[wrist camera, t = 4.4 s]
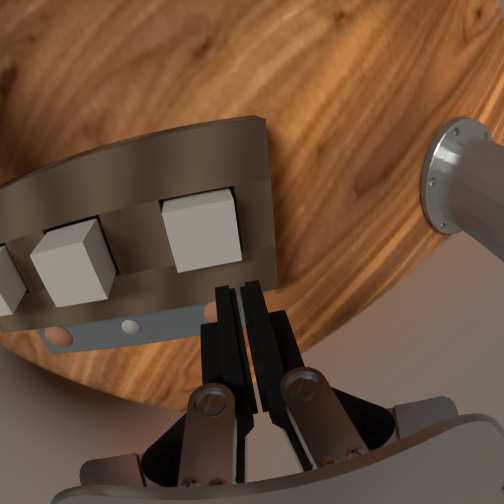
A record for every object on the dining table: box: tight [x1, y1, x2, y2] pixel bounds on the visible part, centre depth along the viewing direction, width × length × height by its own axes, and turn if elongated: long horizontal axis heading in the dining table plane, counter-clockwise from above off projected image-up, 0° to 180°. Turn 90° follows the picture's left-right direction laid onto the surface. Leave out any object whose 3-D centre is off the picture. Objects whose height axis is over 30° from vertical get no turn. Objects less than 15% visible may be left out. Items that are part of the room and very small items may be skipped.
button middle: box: [30, 219, 116, 307], centre depth 16 cm, size 4×4×3 cm
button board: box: [0, 115, 278, 333], centre depth 18 cm, size 26×12×3 cm, turn 96°
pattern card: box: [35, 296, 246, 354], centre depth 24 cm, size 22×5×1 cm, turn 96°
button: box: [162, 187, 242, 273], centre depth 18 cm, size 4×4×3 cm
